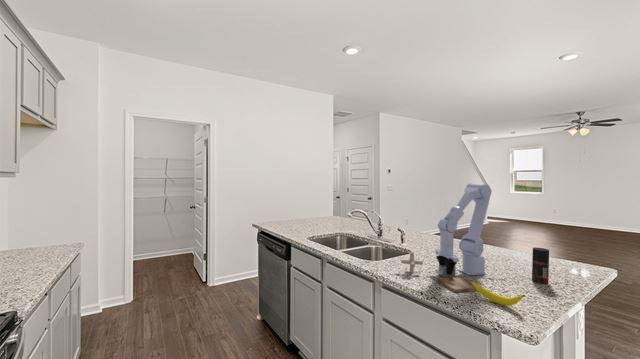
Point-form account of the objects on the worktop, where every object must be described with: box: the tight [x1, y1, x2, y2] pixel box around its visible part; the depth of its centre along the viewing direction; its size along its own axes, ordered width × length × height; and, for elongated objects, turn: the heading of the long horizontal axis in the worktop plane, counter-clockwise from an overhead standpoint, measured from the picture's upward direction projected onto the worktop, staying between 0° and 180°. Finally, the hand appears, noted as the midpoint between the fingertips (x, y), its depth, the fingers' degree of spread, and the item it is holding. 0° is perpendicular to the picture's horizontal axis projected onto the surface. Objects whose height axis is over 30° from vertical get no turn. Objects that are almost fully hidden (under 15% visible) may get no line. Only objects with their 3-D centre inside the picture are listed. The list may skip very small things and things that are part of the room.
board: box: [436, 277, 478, 293], centre depth 123 cm, size 12×12×1 cm
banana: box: [470, 281, 526, 307], centre depth 107 cm, size 3×19×6 cm, turn 32°
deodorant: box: [531, 246, 550, 286], centre depth 129 cm, size 6×6×15 cm
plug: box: [435, 265, 457, 279], centre depth 136 cm, size 9×4×4 cm, turn 102°
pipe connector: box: [400, 251, 424, 274], centre depth 140 cm, size 10×10×10 cm
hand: (446, 272), depth 136 cm, fingers closed on plug, 4 cm apart
